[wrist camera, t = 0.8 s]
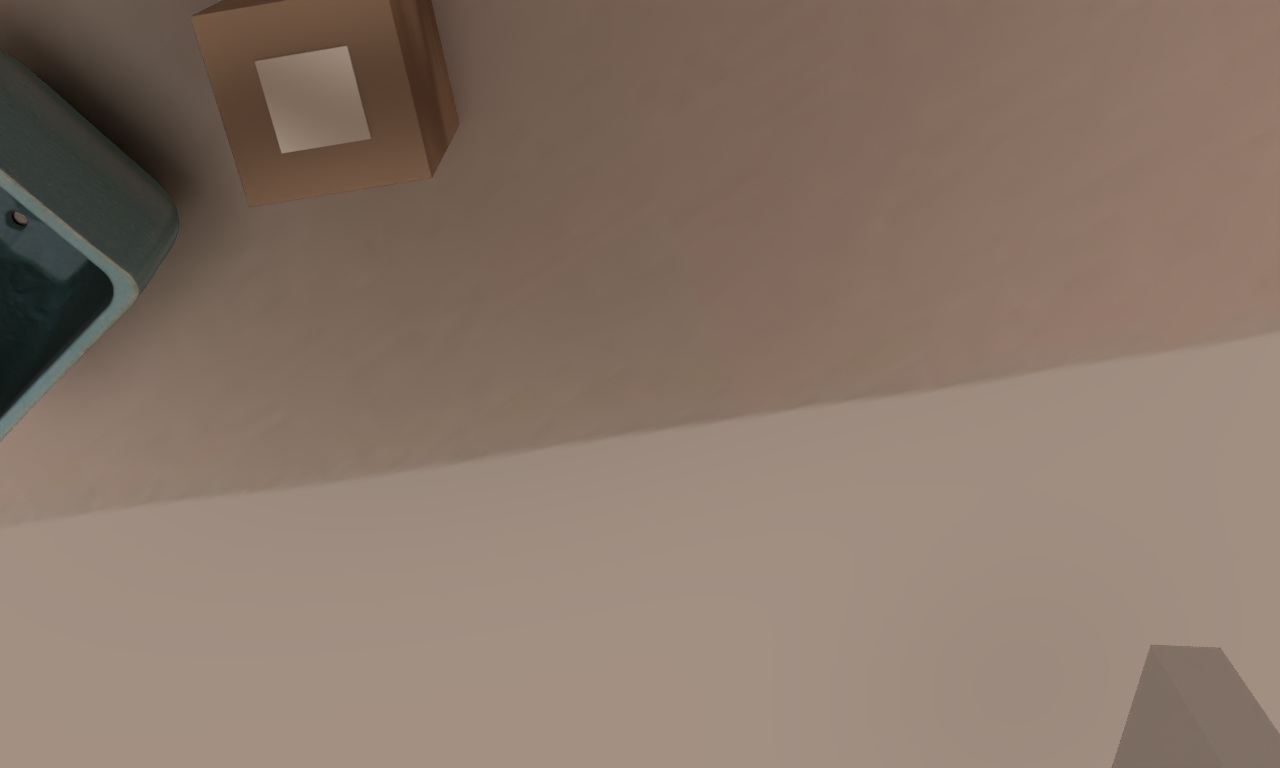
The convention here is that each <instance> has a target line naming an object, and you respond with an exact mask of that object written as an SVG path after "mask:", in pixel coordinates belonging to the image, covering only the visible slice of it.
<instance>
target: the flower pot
mask: <svg viewBox="0 0 1280 768" xmlns="http://www.w3.org/2000/svg"><path fill="white" fill-rule="evenodd" d="M14 211H17V212H19V213H21V214H24V215H25V216H26V218H27V224H26V225H24V226H21V225H18V224H16V223H15V222H14V221H13V219H12V213H13V212H14ZM178 226H179V218H178V213H177V210H176V207H175V205H174V203H173V201H172V199H171V198H170V196H169V195H168V194H167V192H166V191H165V190H164V189H163V188H162V187H161V186H160V185H159V183H158V182H156V181H155V180H154V179H153V178H152V177H151V176H150V175H149V174H148V173H147V172H146V171H144V170H143V169H142V168H141V167H140V166H139V165H138V164H136V163H135V162H134V161H133V160H132V159H131V158H130V157H129V156H127V155H126V154H125V153H124V152H123V151H122V150H121V149H119V148H118V147H117V146H116V145H115V144H114V143H112V142H111V141H110V140H109V139H108V138H107V137H106V136H104V135H103V134H102V133H101V132H100V131H99V130H98V129H96V128H95V127H94V126H93V125H92V124H91V123H90V122H89V121H87V120H86V119H85V118H84V117H83V116H82V115H81V114H80V113H79V112H77V111H76V110H75V109H74V108H73V107H72V106H71V105H70V104H68V103H67V102H66V101H65V100H64V99H63V98H62V97H61V96H59V95H58V94H57V93H56V92H55V91H54V90H53V89H52V88H50V87H49V86H48V85H47V84H46V83H45V82H43V81H42V80H41V79H40V78H39V77H37V76H36V75H35V74H34V73H33V72H32V71H30V70H29V69H28V68H27V67H26V66H24V65H23V64H22V63H20V62H19V61H18V60H17V59H15V58H14V57H12V56H11V55H9V54H8V53H6V52H5V51H3V50H1V49H0V442H1V441H2V439H3V438H4V437H5V436H6V435H7V434H8V433H9V432H10V431H11V430H12V429H13V427H14V426H15V425H16V424H17V423H18V422H19V421H20V420H21V419H22V418H23V417H24V416H25V415H26V414H27V413H28V411H29V410H30V409H31V408H32V407H33V406H34V405H35V404H36V403H37V402H38V401H39V400H40V399H41V398H42V397H43V395H44V394H45V393H46V392H47V391H48V390H49V389H50V388H51V387H52V386H53V385H54V384H55V383H56V382H57V381H58V380H59V379H60V378H61V377H62V376H63V375H64V374H65V373H66V372H67V371H68V370H69V369H70V368H71V367H72V366H73V365H74V364H75V363H76V362H77V361H78V360H79V359H80V358H81V357H82V356H83V354H84V353H85V352H86V351H87V350H88V349H89V348H90V347H91V346H92V345H93V344H94V343H95V342H96V341H97V340H98V339H99V338H100V337H101V336H102V335H103V334H104V333H105V332H106V331H107V330H108V329H109V328H110V327H111V326H112V325H113V324H114V323H115V322H116V320H117V319H119V318H120V317H121V316H122V315H123V314H124V313H125V312H126V311H127V310H128V309H129V308H130V307H131V306H132V305H133V303H134V302H135V301H136V300H137V298H138V297H139V295H140V294H141V292H142V291H143V289H144V288H145V287H146V285H147V284H148V282H149V281H150V279H151V278H152V276H153V275H154V273H155V272H156V270H157V268H158V267H159V265H160V264H161V262H162V261H163V259H164V258H165V256H166V255H167V253H168V252H169V250H170V249H171V247H172V245H173V243H174V241H175V239H176V236H177V233H178Z"/></svg>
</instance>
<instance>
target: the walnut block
mask: <svg viewBox="0 0 1280 768" xmlns="http://www.w3.org/2000/svg"><path fill="white" fill-rule="evenodd" d="M190 19H191V22H192V25H193V28H194V32H195V35H196V38H197V41H198V44H199V48H200V51H201V54H202V57H203V60H204V64H205V67H206V70H207V73H208V77H209V80H210V83H211V86H212V89H213V93H214V96H215V99H216V102H217V105H218V109H219V112H220V115H221V118H222V121H223V125H224V128H225V131H226V134H227V137H228V141H229V144H230V147H231V150H232V153H233V157H234V160H235V163H236V166H237V169H238V173H239V176H240V179H241V182H242V185H243V189H244V192H245V195H246V198H247V201H248V205H249V207H254V206H261V205H267V204H273V203H279V202H285V201H292V200H298V199H304V198H310V197H317V196H323V195H329V194H335V193H341V192H348V191H354V190H360V189H366V188H373V187H379V186H385V185H391V184H398V183H404V182H410V181H416V180H422V179H429V178H432V177H433V175H434V173H435V171H436V169H437V167H438V165H439V163H440V161H441V159H442V157H443V155H444V153H445V151H446V149H447V147H448V145H449V143H450V142H451V140H452V138H453V136H454V134H455V132H456V130H457V128H458V126H459V122H458V117H457V113H456V108H455V104H454V99H453V95H452V91H451V86H450V82H449V77H448V73H447V68H446V64H445V60H444V55H443V51H442V46H441V42H440V37H439V33H438V29H437V24H436V20H435V15H434V11H433V6H432V2H431V0H224V1H222V2H219V3H217V4H215V5H213V6H211V7H209V8H207V9H205V10H203V11H201V12H199V13H197V14H195V15H192V16H190Z"/></svg>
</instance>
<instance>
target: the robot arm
mask: <svg viewBox="0 0 1280 768" xmlns="http://www.w3.org/2000/svg"><path fill="white" fill-rule="evenodd" d="M1112 768H1280V734H1279V733H1278V731H1277V729H1276V728H1275V727H1274V725H1273V724H1272V722H1271V721H1270V719H1269V718H1268V716H1267V715H1266V713H1265V712H1264V710H1263V709H1262V708H1261V706H1260V705H1259V703H1258V702H1257V700H1256V699H1255V697H1254V696H1253V694H1252V693H1251V692H1250V690H1249V689H1248V687H1247V686H1246V685H1245V683H1244V681H1243V680H1242V679H1241V677H1240V676H1239V674H1238V673H1237V671H1236V670H1235V669H1234V667H1233V665H1232V664H1231V662H1230V661H1229V660H1228V658H1227V657H1226V655H1225V654H1224V652H1223V651H1222V649H1221V648H1214V647H1190V646H1168V645H1166V646H1165V645H1151V646H1150V649H1149V652H1148V656H1147V659H1146V662H1145V665H1144V668H1143V671H1142V674H1141V677H1140V681H1139V684H1138V687H1137V690H1136V693H1135V696H1134V699H1133V703H1132V706H1131V709H1130V712H1129V715H1128V718H1127V722H1126V725H1125V728H1124V731H1123V734H1122V737H1121V740H1120V744H1119V747H1118V750H1117V753H1116V757H1115V759H1114V763H1113V766H1112Z"/></svg>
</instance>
